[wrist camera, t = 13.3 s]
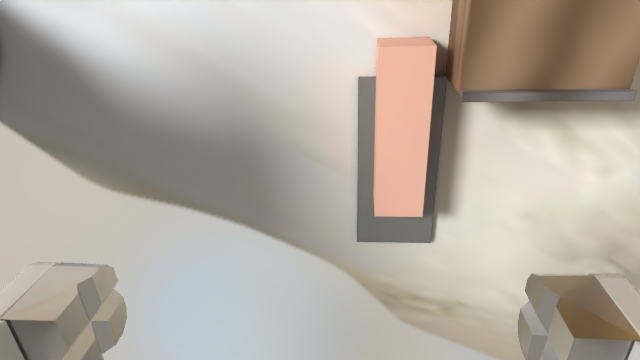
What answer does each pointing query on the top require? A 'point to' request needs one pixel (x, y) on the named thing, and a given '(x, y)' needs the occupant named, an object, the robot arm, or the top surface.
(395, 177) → the pink rectangular block
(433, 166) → the mat
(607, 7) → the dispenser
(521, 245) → the top surface
